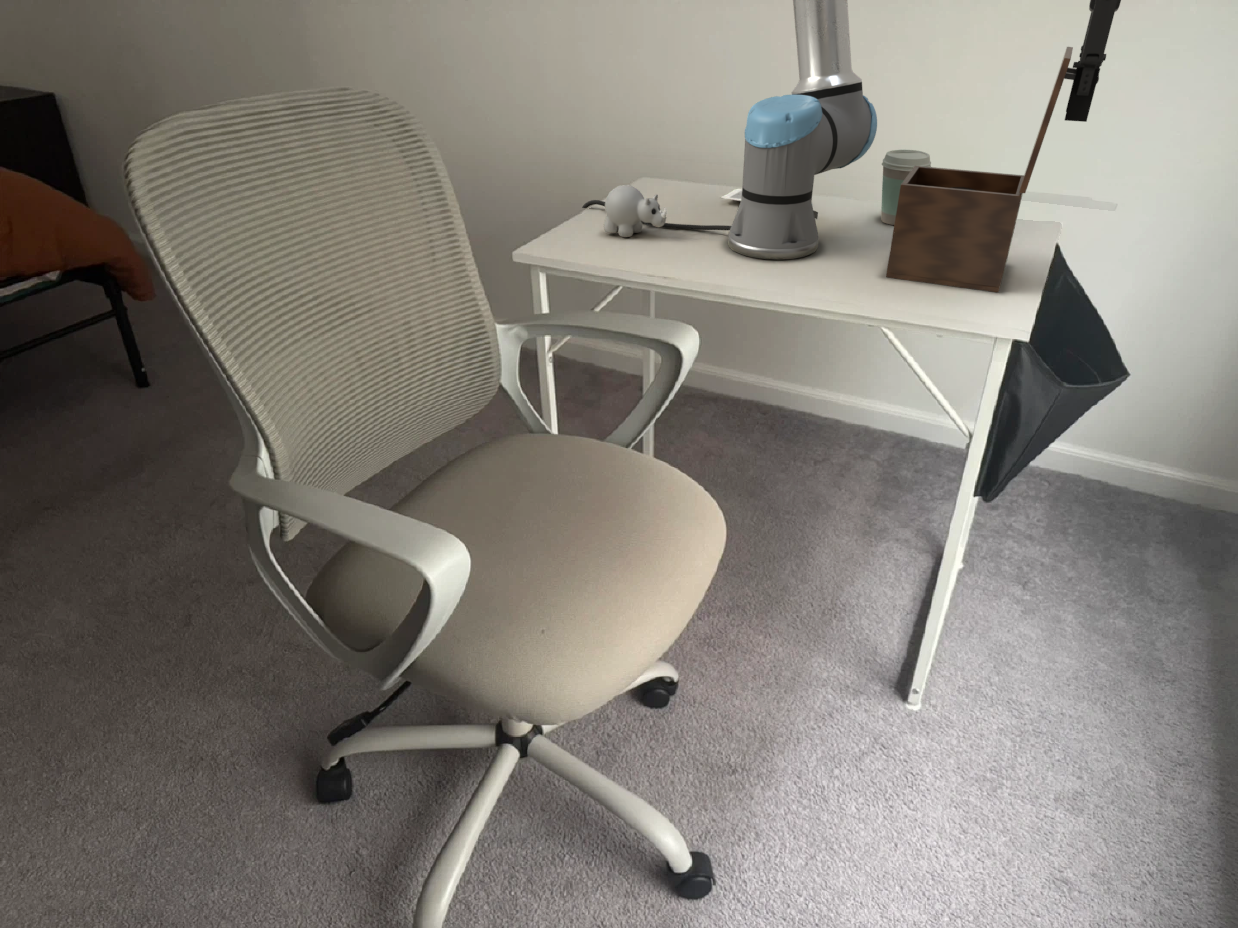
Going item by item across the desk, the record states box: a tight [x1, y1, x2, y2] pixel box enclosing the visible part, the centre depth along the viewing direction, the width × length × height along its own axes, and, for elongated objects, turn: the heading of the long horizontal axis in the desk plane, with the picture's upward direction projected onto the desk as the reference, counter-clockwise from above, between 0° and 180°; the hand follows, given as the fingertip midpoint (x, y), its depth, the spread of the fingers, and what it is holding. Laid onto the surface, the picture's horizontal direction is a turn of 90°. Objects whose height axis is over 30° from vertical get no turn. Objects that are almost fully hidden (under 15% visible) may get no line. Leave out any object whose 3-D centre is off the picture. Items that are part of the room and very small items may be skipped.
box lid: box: [1019, 46, 1100, 194], centre depth 120 cm, size 17×13×5 cm
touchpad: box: [720, 188, 742, 202], centre depth 169 cm, size 8×15×2 cm, turn 59°
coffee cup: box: [880, 149, 932, 226], centre depth 156 cm, size 8×8×12 cm
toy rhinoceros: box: [603, 184, 668, 238], centre depth 151 cm, size 7×12×8 cm, turn 57°
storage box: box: [885, 166, 1024, 293], centre depth 132 cm, size 17×13×14 cm
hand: (1075, 115), depth 119 cm, fingers closed on box lid, 6 cm apart
